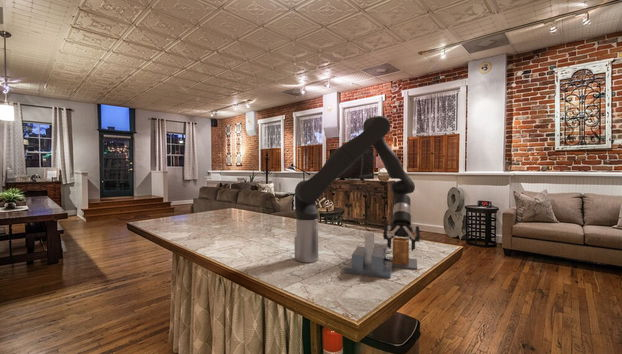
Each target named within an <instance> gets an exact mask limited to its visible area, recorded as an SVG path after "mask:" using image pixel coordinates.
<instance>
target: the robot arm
mask: <svg viewBox="0 0 622 354" xmlns="http://www.w3.org/2000/svg"><path fill="white" fill-rule="evenodd" d="M362 125H363V126H362V128H363V131H362V132H361V133H359V134H358V135H357V136H355V137H354V138H352V139H350V140H347V141H346V142H344V143H343V144H342V145H341V146H339V147H338V148H337V149H336V150H335V151H334V152H333V153H331V155H330V156H328V159H327V160H326V161H325V163H324V164H323V166H322V167H321V168H320V169H319V170H318V171H317V172H316V173H315V174H314V175H312V176H311V177H310V178H308V179H306V180H302V181H299V182H298V183H297V184H296V186H295V188H294V211H295V216H296V217H295V218H296V219H295V220H296V221H295V222H296V224H295V225H296V229H295V230H296V233H295V234H296V236H294V238H293V239H294V241H293V243H294V260H296V261H298V262H300V263H314V262H318V260H319V211H318V208H317V201H318V199H319V198H320V197H321V196H322V195H323V194H324V192H325V191H326V190H327V188H328V187H329V186H330V185H331V184H332V183H334V182H335V181H336V180H337V179H338V178H339V177H340V176H341V175H343V174H344V173H346V171H348V170H349V168H351V167H352V166H353V165H354V164H355V163H356V162H357V161H358V160H359V159H360V158H361V157H362V156H363V155H364V154H365V153H366V152H367V151H368V150H369V149H370V148H371V147H373V148H374V149H375V151H376V153H377V155H378V156H379V158H380V160H381V162H382V164H383V165H384V168H385V170H386V173H387V174H388V177H389V178H390V179H392V180H393V179H395V180H397V181H393V182H392V183H391V185H390V190H391V193H392V195H393V200H394V201H393V210H392V224H391V226H390V225H388V224H387V223H385V224H384V228H383V235H382V238H383V240H385V241H386V242H387V246H388V247H389V249H392V241H393V238H394V237H395V238H409V241H410V242H411V247H410V250H411V251H414V250H415V249H416V242H417V243H419V242H420V241H421V233H420V232H421V231H420V226H418V225H417V226H416V227H414V226H412V209H411V198H410V196H409V195H410V194H412V193H414V191H415V189H416V186H415V183H414V181H413V180H412V178H411V177H410V176H409V175H408V174H407V172H405V170H404V168H403V166H402V163H401V161H400V159H399V157H398V156H397V154H396V153H395V152H394V150H393V149H392V148H391V147H390V145H389V144H388V143H387V141H386V140H385V138H384V137H385V136H386V135H388V133H389V131H390V128H391V123H390V120H389V118H388V117H386V116H385V115H384V116H382V115H377V116H372V117H369V118H367V119H365V121H364V122H363V124H362ZM408 194H409V195H408ZM390 230H391V232H390V233H389V234H388V232H389V231H390ZM412 232H413V233H414V234H415V235H416V237H415V236H414V235H413V234H412Z"/></svg>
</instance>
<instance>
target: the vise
mask: <svg viewBox="0 0 622 354" xmlns="http://www.w3.org/2000/svg"><path fill="white" fill-rule="evenodd" d="M374 241H375V232H371V231H366V232H365V233H364V246H360V245H359V246H357V247H356V248H355V250H354V251H353V252H352V253H351V258H350V259H349V262H347V264H346V266H345V267H344V273H345V274H351V275H357V276H358V275H359V276H367V277H368V276H370V277H377V278H387V279H391V277H392V273H393V268H394V267H393V262H390V258H387V254H386V249H384V248H375V250H374ZM386 261H387V262H386Z"/></svg>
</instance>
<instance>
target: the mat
mask: <svg viewBox="0 0 622 354" xmlns="http://www.w3.org/2000/svg"><path fill="white" fill-rule="evenodd" d="M386 258H390V262H393V256H387V255H386ZM386 262H387V261H386ZM393 268H395V269H396V268H397V269H403V270H405V269H406V270H415V271H418V259H417V258H410V257H409V265H404V264H394V263H393Z"/></svg>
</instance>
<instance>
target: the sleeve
mask: <svg viewBox="0 0 622 354" xmlns="http://www.w3.org/2000/svg"><path fill="white" fill-rule="evenodd" d="M392 257H393V263H394V264H404V265H409V258H410V239H409V238H408V237H394V238H393V239H392Z"/></svg>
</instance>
